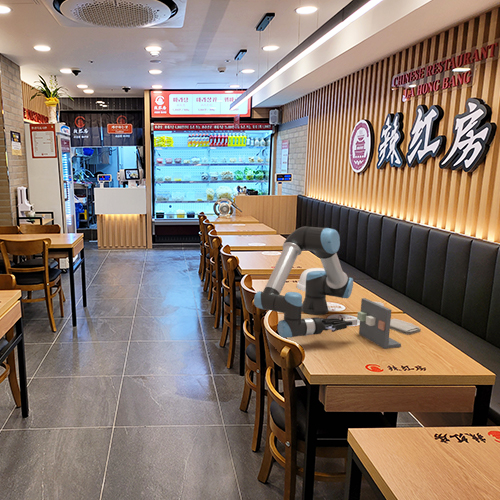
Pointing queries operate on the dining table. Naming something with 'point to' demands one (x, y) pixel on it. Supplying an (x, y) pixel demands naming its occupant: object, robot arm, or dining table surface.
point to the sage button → (361, 316)
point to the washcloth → (403, 327)
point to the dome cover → (302, 281)
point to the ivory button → (370, 320)
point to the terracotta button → (381, 325)
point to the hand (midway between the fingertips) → (356, 321)
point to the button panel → (373, 331)
